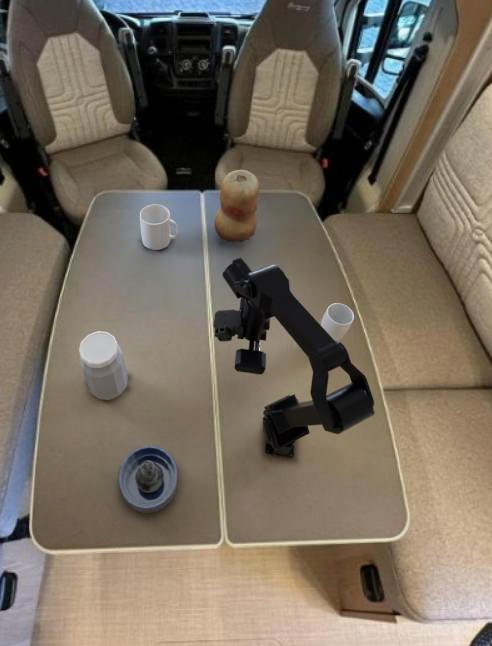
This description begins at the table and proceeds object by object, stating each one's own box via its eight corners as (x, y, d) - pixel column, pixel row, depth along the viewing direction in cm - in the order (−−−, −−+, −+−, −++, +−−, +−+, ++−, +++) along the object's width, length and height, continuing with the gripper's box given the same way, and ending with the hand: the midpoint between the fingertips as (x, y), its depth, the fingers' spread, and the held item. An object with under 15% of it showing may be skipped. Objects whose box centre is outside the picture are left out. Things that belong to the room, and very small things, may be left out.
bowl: (172, 518, 86) (171, 512, 81) (115, 508, 86) (112, 502, 82) (181, 458, 93) (181, 450, 89) (129, 449, 94) (126, 441, 90)
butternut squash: (208, 245, 137) (213, 184, 118) (218, 219, 145) (224, 158, 126) (249, 255, 134) (261, 194, 115) (257, 228, 143) (269, 167, 124)
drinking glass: (308, 349, 112) (323, 318, 101) (315, 330, 116) (330, 298, 105) (332, 360, 110) (350, 329, 99) (339, 340, 114) (357, 309, 103)
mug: (142, 231, 140) (139, 204, 131) (177, 230, 141) (177, 203, 132) (142, 251, 134) (139, 225, 125) (179, 250, 135) (179, 223, 126)
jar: (81, 380, 105) (67, 344, 91) (114, 359, 109) (105, 320, 95) (102, 410, 100) (90, 376, 86) (135, 386, 104) (129, 349, 90)
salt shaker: (161, 464, 92) (159, 446, 83) (166, 492, 88) (164, 477, 79) (134, 470, 91) (129, 453, 82) (138, 499, 87) (134, 485, 78)
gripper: (222, 273, 91) (217, 314, 103) (212, 347, 79) (208, 383, 91) (272, 280, 90) (261, 320, 102) (270, 355, 78) (258, 390, 90)
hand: (247, 351), depth 97 cm, fingers open, 9 cm apart
